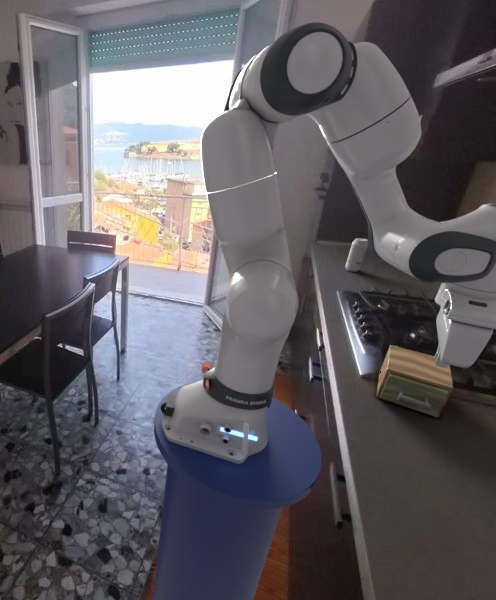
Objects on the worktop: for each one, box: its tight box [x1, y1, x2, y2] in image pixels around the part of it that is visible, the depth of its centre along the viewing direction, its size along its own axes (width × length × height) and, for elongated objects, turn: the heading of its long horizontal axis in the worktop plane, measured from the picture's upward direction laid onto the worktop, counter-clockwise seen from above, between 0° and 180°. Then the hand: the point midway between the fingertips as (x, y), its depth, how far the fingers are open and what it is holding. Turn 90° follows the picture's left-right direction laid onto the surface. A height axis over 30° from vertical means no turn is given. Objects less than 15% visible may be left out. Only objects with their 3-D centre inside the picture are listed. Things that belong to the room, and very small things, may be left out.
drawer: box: [379, 373, 448, 417], centre depth 85 cm, size 17×10×7 cm, turn 141°
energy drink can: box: [345, 237, 369, 273], centre depth 168 cm, size 6×6×15 cm
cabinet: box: [375, 344, 454, 418], centre depth 88 cm, size 14×12×9 cm
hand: (440, 363), depth 69 cm, fingers closed
